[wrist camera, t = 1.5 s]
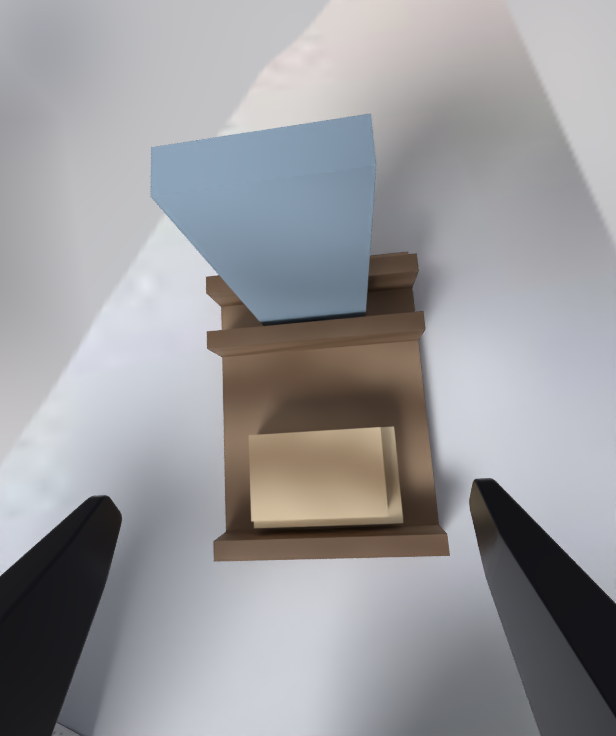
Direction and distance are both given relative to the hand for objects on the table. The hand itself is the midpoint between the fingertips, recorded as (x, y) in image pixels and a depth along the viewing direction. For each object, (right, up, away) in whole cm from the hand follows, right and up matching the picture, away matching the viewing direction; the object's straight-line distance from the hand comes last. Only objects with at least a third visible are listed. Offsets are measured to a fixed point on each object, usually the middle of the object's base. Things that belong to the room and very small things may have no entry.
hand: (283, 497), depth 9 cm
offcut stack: (+2, -3, +13) cm, 13 cm away
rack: (+1, +1, +14) cm, 14 cm away
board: (+1, +6, +14) cm, 16 cm away
